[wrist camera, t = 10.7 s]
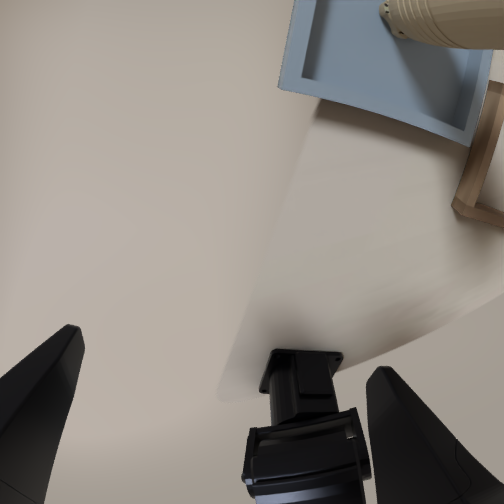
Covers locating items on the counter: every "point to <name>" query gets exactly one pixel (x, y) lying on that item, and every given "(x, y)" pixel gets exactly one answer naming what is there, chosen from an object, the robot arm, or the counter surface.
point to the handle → (448, 22)
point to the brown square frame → (482, 159)
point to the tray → (382, 68)
